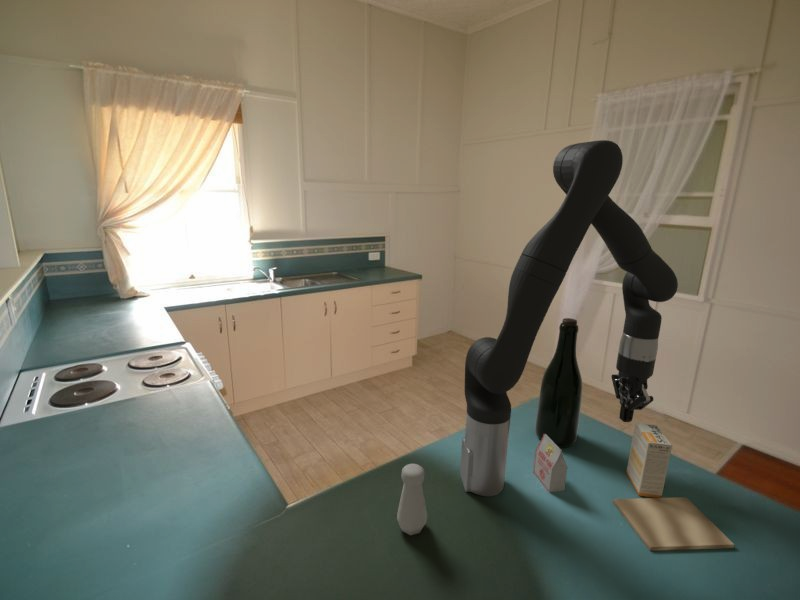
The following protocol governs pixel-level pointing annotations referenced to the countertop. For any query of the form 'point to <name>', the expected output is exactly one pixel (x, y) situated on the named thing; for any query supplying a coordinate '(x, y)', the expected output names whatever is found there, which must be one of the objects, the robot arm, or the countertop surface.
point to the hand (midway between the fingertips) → (625, 420)
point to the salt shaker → (412, 500)
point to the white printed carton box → (550, 465)
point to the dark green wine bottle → (561, 390)
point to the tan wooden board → (671, 524)
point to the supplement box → (648, 460)
